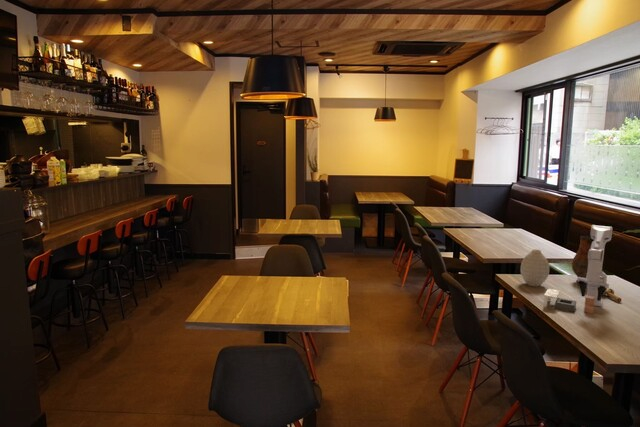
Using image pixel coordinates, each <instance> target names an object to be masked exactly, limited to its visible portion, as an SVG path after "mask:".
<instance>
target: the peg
mask: <svg viewBox="0 0 640 427" xmlns="http://www.w3.org/2000/svg"><path fill="white" fill-rule="evenodd" d="M594 301H595V297H592V296H587V295H585V300H584V309H583V312H584V313H588V314H592V315H593V313H594V308H595V305H594Z"/></svg>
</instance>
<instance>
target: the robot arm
mask: <svg viewBox="0 0 640 427" xmlns="http://www.w3.org/2000/svg"><path fill="white" fill-rule="evenodd" d="M612 235H613V227H612V226H607V225H606V226H605V225H596V224H592V225H591V227H590V237H591V238H592V239H593V240H594V241H593V242H592V245H591V249H589V252H588V271H587V276H586V278H582V277H577V279H576V280H577V281H579V283H577V285H578V287H579V289H580V290H579V291H580V292H581V297H586V296H592V297H595V301H594V307H595V306H597V307H602V306H603V301H602V300H603V299H602V298H603V296H604V295H603V293H604V292H605V290H606V289H607V290H608V289H610V288H609V287H610V284H609V283H608V282H607V281H608V279H607V278H608V275H607V274H606V273H605V272H604V271H603V264H604V256H605V249H606V248H605V246H606V244H607V243H608V242H610V241H611V240H612ZM586 289H587V290H586Z"/></svg>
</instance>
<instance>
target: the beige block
mask: <svg viewBox="0 0 640 427" xmlns="http://www.w3.org/2000/svg"><path fill="white" fill-rule="evenodd" d="M560 293H561V290H558V289H553V288H548V289H547V290H546V291H545V293H544V294H543V297H544V299H543V308H544V309H547V308H548V303H551V299H554V300H555V299H556V300H557V298H558V296H559V295H560Z"/></svg>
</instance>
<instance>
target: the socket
mask: <svg viewBox="0 0 640 427" xmlns="http://www.w3.org/2000/svg"><path fill="white" fill-rule="evenodd" d="M576 307H577V300H574V299H573V300H572V299H568V298H562V297H557V298H556V300H555V302H554V309H557V310H562V311H566V312H570V313H571V312H573V313H574V312H575V310H576V309H577V308H576Z"/></svg>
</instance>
